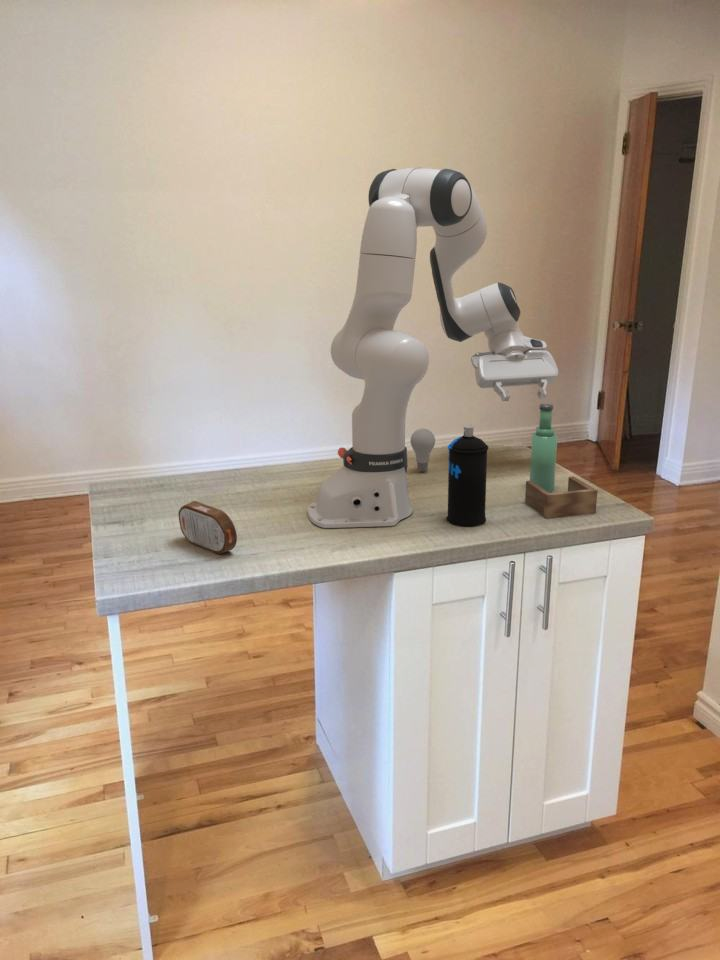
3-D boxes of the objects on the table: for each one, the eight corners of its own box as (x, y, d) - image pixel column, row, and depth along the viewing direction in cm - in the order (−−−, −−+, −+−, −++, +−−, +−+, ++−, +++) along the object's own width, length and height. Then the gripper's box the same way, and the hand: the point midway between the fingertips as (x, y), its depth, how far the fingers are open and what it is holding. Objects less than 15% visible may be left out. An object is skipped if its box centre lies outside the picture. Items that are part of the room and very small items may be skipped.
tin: (239, 554, 148) (236, 512, 146) (226, 560, 146) (223, 517, 143) (190, 536, 158) (187, 496, 155) (177, 540, 156) (174, 500, 153)
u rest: (546, 518, 164) (547, 495, 162) (524, 502, 173) (526, 481, 172) (595, 512, 166) (597, 490, 165) (572, 497, 176) (573, 476, 174)
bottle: (535, 494, 179) (540, 408, 173) (525, 486, 184) (529, 403, 178) (558, 491, 180) (563, 406, 174) (547, 484, 185) (552, 401, 179)
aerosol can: (485, 513, 167) (488, 421, 161) (487, 527, 159) (490, 431, 153) (446, 512, 168) (447, 421, 162) (446, 526, 160) (448, 431, 154)
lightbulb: (422, 466, 201) (423, 424, 197) (439, 471, 196) (440, 429, 193) (405, 471, 197) (405, 428, 194) (422, 476, 192) (422, 433, 189)
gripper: (473, 345, 187) (487, 393, 181) (551, 341, 192) (568, 388, 186) (465, 361, 193) (479, 408, 187) (542, 357, 197) (558, 403, 191)
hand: (524, 398), depth 186 cm, fingers open, 8 cm apart
